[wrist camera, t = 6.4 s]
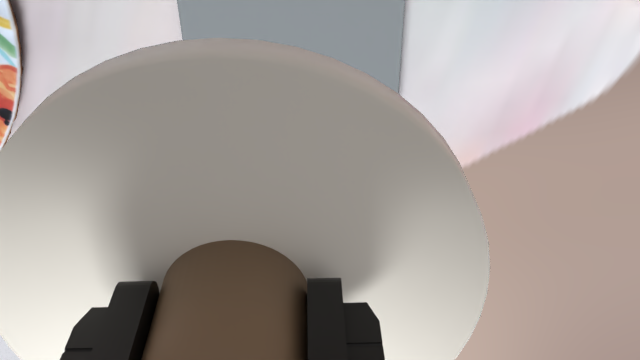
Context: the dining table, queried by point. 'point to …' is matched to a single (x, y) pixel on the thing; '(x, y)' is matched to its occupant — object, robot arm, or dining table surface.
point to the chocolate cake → (9, 70)
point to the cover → (236, 206)
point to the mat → (309, 28)
